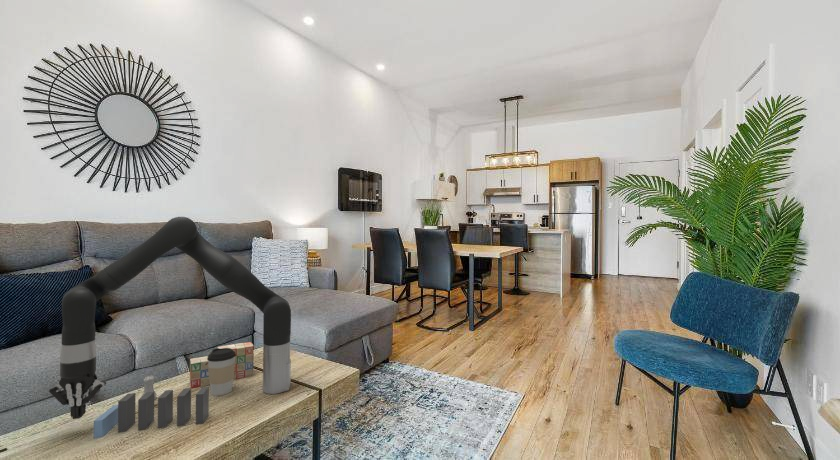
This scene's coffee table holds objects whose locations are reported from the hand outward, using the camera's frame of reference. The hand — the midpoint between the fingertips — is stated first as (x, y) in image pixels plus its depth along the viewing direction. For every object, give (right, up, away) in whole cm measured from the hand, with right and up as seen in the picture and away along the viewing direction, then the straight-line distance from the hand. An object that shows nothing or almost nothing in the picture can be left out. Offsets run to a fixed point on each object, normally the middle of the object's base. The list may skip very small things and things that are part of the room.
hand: (78, 417), depth 103 cm
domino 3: (+21, -5, +5) cm, 23 cm away
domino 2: (+17, -5, +4) cm, 18 cm away
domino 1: (+12, -5, +3) cm, 13 cm away
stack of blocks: (+21, -5, +37) cm, 43 cm away
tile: (+6, -2, +6) cm, 9 cm away
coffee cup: (+27, -5, +27) cm, 38 cm away
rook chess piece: (+6, -5, +19) cm, 21 cm away
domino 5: (+31, -5, +8) cm, 32 cm away
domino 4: (+26, -5, +6) cm, 27 cm away
